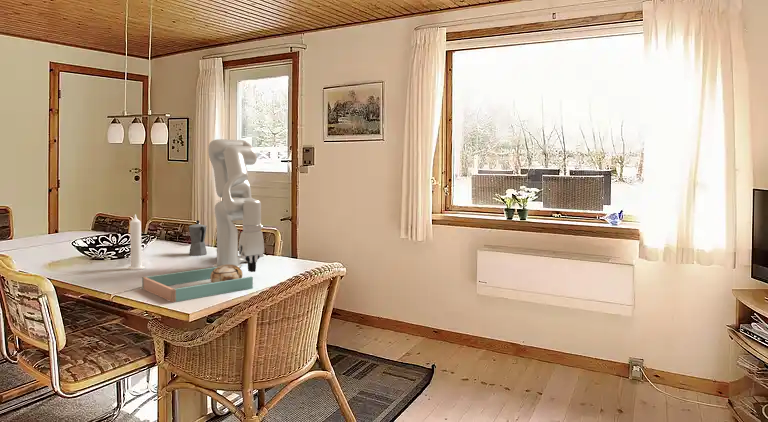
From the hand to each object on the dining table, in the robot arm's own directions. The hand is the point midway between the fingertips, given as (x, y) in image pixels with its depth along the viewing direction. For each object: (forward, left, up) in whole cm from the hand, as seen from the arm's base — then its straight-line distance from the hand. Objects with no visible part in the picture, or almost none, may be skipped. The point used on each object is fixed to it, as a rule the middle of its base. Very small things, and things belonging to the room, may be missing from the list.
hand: (251, 271), depth 234 cm
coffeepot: (-10, -67, -4) cm, 68 cm away
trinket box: (+12, 0, -4) cm, 12 cm away
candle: (+28, -52, -4) cm, 59 cm away
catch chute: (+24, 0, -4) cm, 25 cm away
